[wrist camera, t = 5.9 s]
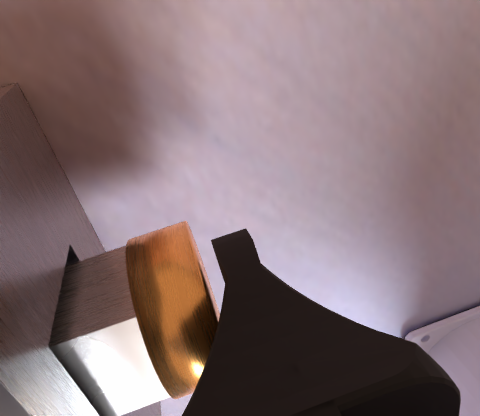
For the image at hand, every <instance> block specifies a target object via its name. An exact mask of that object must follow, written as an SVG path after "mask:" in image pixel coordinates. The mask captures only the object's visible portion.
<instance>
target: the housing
mask: <svg viewBox="0 0 480 416" xmlns="http://www.w3.org/2000/svg"><path fill="white" fill-rule="evenodd" d="M102 253H105V250H104V248H103V246H102V244H101V243H100V241H99V239H98V237H97V235H96V233H95V231H94V229H93V227H92V225H91V223H90V221H89V220H88V218H87V216H86V214H85V212H84V210H83V208H82V206H81V204H80V202H79V200H78V198H77V197H76V195H75V193H74V191H73V189H72V187H71V185H70V183H69V181H68V179H67V177H66V176H65V174H64V172H63V170H62V168H61V166H60V164H59V162H58V160H57V158H56V156H55V154H54V153H53V151H52V149H51V147H50V145H49V143H48V141H47V139H46V137H45V135H44V133H43V131H42V130H41V128H40V126H39V124H38V122H37V120H36V118H35V116H34V114H33V112H32V110H31V108H30V107H29V105H28V103H27V101H26V99H25V97H24V95H23V93H22V91H21V89H20V87H19V85H18V84H17V83H15V84H11V85H8V86H4V87H1V88H0V416H99V414H98V413H97V412H96V410H95V409H94V408H93V406H92V405H91V404H90V402H89V401H88V399H87V398H86V397H85V395H84V394H83V393H82V391H81V390H80V389H79V387H78V386H77V385H76V383H75V382H74V381H73V379H72V378H71V377H70V375H69V374H68V373H67V371H66V370H65V369H64V367H63V366H62V364H61V363H60V362H59V360H58V359H57V358H56V356H55V355H54V354H53V352H52V351H51V350H50V348H49V347H48V344H49V339H50V335H51V330H52V325H53V321H54V316H55V311H56V307H57V302H58V297H59V293H60V288H61V283H62V279H63V274H64V269H65V266H66V265H69V264H72V263H75V262H78V261H81V260H84V259H87V258H90V257H93V256H96V255H99V254H102ZM120 416H161V406H160V401H158V402H155V403H153V404H150V405H147V406H144V407H142V408H139V409H136V410H134V411H131V412H128V413H126V414H123V415H120Z"/></svg>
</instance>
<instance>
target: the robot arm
mask: <svg viewBox="0 0 480 416" xmlns="http://www.w3.org/2000/svg"><path fill="white" fill-rule="evenodd" d="M211 242H212V245H213V248H214V251H215V254H216V257H217V260H218V264H219V267H220V270H221V273H222V276H223V279H224V282H225V289H224V296H223V302H222V308H221V313H220V317H219V322H218V326H217V330H216V333H215V337H214V340H213V343H212V346H211V349H210V353H209V355H208V358H207V361H206V364H205V366H204V369H203V371H202V373H201V376H200V378H199V381H198V383H197V385H196V388H195V390H194V393H193V395H192V397H191V399H190V401H189V403H188V405H187V407H186V409H185V411H184V413H183V415H182V416H480V306H478V307H475V308H472V309H470V310H467V311H464V312H462V313H459V314H456V315H454V316H451V317H448V318H446V319H443V320H440V321H438V322H435V323H432V324H430V325H427V326H424V327H422V328H419V329H417V330H414V331H412V332H410V333H408V334H407V336H406V337H405V339H402V338H398V337H395V336H392V335H389V334H386V333H383V332H379V331H376V330H374V329H371V328H369V327H366V326H364V325H361V324H359V323H356V322H354V321H352V320H350V319H348V318H346V317H344V316H341V315H339V314H337V313H335V312H333V311H331V310H329V309H327V308H325V307H323V306H321V305H319V304H318V303H316V302H314V301H312V300H311V299H309V298H307V297H306V296H304V295H302V294H301V293H299V292H298V291H296V290H295V289H293V288H292V287H290V286H289V285H287V284H286V283H285V282H283V281H282V280H281V279H279V278H278V277H277V276H275V275H274V274H273V273H272V272H270V271H269V270H268V269H267V268H266V267H264V266H263V265H262V264H261V263H260V260H259V257H258V254H257V251H256V248H255V245H254V242H253V239H252V238H251V236H250V234H249V233H248V231H247V230H246V229H243V230H240V231H237V232H234V233H231V234H228V235H225V236H222V237H219V238H216V239H213V240H211Z"/></svg>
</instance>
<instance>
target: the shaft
mask: <svg viewBox="0 0 480 416" xmlns="http://www.w3.org/2000/svg"><path fill="white" fill-rule="evenodd" d="M219 317H220V314H219V310H218V307H217V304H216V301H215V298H214V295H213V292H212V288H211V285H210V282H209V279H208V276H207V273H206V270H205V268H204V265H203V262H202V259H201V256H200V253H199V250H198V248H197V245H196V242H195V240H194V237H193V234H192V232H191V230H190V227H189V225H188V223H187V221H184V222H181V223H178V224H174V225H171V226H168V227H165V228H162V229H159V230H156V231H153V232H150V233H147V234H144V235H141V236H138V237H135V238H132V239H129V240H128V242H127V244H126V246H123V247H120V248H117V249H114V250H111V251H108V252H105V253H102V254H99V255H96V256H93V257H90V258H87V259H84V260H81V261H78V262H75V263H72V264H69V265H66V266H65V269H64V274H63V279H62V283H61V288H60V293H59V297H58V302H57V307H56V311H55V316H54V321H53V325H52V330H51V335H50V339H49V344H48V347H49V348H50V350H51V351H52V352H53V354H54V355H55V356H56V358H57V359H58V360H59V362H60V363H61V364H62V366H63V367H64V369H65V370H66V371H67V373H68V374H69V375H70V377H71V378H72V379H73V381H74V382H75V383H76V385H77V386H78V387H79V389H80V390H81V391H82V393H83V394H84V395H85V397H86V398H87V399H88V401H89V402H90V404H91V405H92V406H93V408H94V409H95V410H96V412H97V413H98V414H99V416H120V415H123V414H126V413H128V412H131V411H134V410H136V409H139V408H142V407H144V406H147V405H150V404H153V403H155V402H158V401H161V400H163V399H166V398H169V397H172V398H173V399H178V398H181V397H183V396H186V395H189V394H192V393H194V390H195V388H196V385H197V383H198V381H199V378H200V376H201V373H202V371H203V369H204V366H205V364H206V361H207V358H208V355H209V353H210V349H211V346H212V343H213V340H214V337H215V333H216V330H217V326H218V322H219Z"/></svg>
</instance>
